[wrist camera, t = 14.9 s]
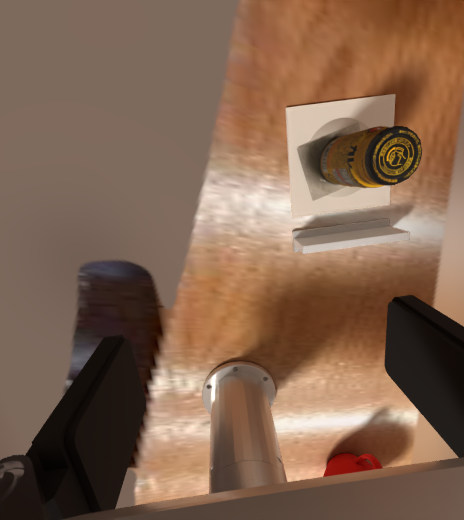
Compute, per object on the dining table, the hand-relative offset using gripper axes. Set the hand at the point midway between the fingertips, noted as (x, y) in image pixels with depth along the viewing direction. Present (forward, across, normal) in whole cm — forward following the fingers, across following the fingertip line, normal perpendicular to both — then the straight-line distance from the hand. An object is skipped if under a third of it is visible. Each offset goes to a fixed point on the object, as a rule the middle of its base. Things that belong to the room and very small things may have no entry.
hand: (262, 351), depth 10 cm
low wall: (+30, -16, +4) cm, 35 cm away
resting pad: (+30, -16, -6) cm, 35 cm away
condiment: (+30, -15, -6) cm, 34 cm away
